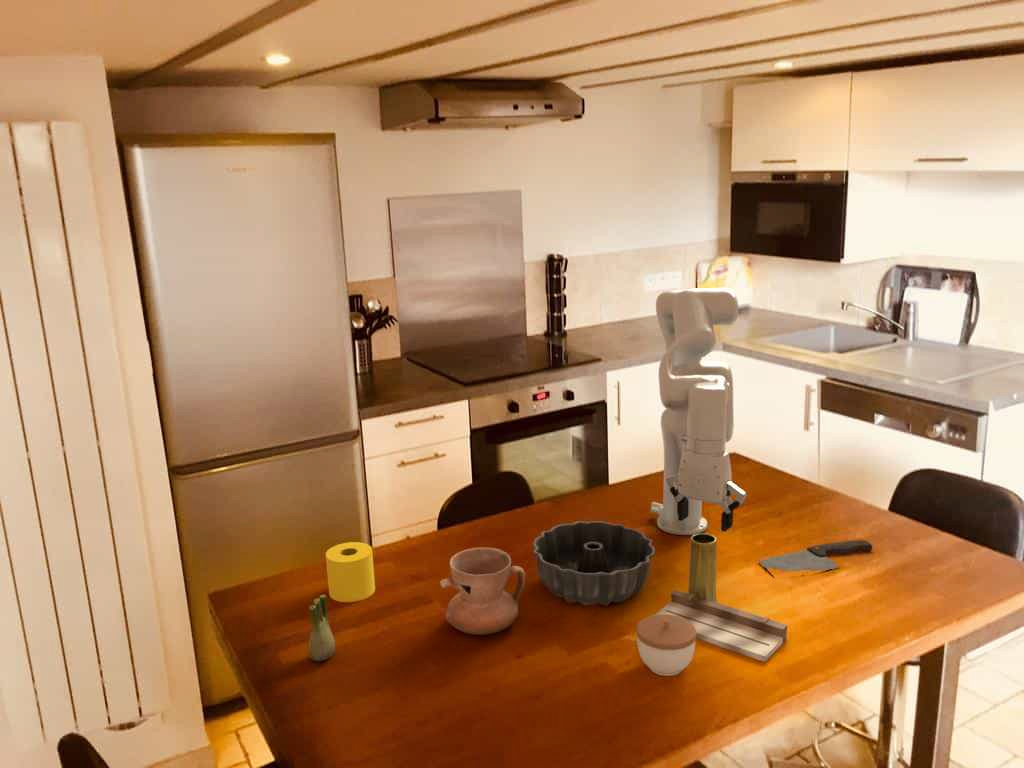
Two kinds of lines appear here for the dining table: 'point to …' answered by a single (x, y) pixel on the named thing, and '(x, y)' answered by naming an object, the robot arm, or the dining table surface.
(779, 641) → the fence board
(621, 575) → the bundt pan
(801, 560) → the cleaver
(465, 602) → the ceramic jug
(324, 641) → the fennel bulb
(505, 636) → the dining table surface
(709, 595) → the vase
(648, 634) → the lidded jar
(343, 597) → the toilet paper roll
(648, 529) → the dining table surface
